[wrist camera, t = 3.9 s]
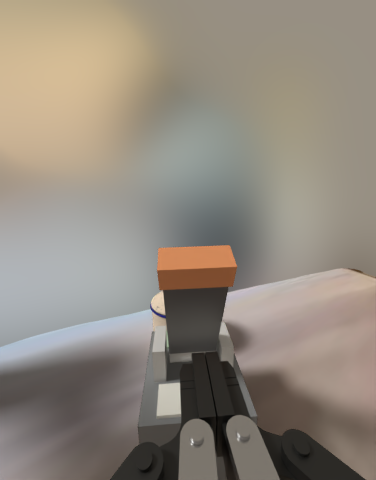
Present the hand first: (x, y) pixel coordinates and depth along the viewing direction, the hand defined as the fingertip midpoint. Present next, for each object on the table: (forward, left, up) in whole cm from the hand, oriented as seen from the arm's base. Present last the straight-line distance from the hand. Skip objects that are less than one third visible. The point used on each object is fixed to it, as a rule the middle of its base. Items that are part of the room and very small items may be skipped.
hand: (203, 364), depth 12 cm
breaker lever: (+8, +6, -8) cm, 13 cm away
